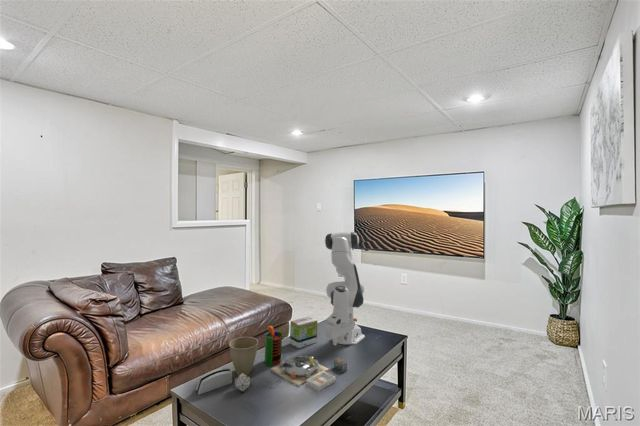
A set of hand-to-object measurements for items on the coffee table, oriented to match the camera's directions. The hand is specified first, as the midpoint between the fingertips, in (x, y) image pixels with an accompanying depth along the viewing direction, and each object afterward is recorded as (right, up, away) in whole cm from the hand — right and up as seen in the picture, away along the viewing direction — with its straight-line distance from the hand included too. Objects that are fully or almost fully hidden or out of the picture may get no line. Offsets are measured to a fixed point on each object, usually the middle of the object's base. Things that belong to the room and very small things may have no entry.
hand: (340, 342), depth 179 cm
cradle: (-11, -15, -14) cm, 23 cm away
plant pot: (-52, -14, -5) cm, 54 cm away
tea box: (-22, -14, +33) cm, 42 cm away
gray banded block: (0, -15, 0) cm, 15 cm away
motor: (-38, -14, +7) cm, 41 cm away
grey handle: (-62, -15, -19) cm, 67 cm away
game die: (-48, -15, -22) cm, 55 cm away
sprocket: (-22, -13, -2) cm, 26 cm away
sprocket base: (-22, -14, -2) cm, 26 cm away
